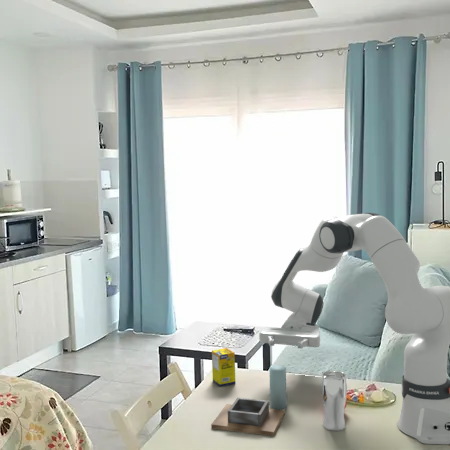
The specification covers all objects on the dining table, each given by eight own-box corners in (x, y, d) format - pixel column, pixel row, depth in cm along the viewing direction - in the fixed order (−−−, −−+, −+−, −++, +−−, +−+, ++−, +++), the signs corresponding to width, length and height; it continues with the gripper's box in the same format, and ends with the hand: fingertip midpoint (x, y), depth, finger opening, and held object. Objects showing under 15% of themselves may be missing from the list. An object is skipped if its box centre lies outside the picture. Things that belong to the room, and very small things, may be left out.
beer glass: (347, 432, 159) (346, 379, 157) (321, 431, 160) (320, 378, 158) (346, 421, 165) (346, 370, 164) (322, 419, 167) (321, 369, 165)
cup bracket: (284, 414, 171) (284, 399, 171) (273, 436, 158) (273, 419, 157) (226, 407, 177) (226, 393, 176) (211, 428, 164) (210, 412, 163)
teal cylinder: (288, 403, 178) (287, 366, 177) (284, 410, 174) (284, 371, 172) (272, 402, 180) (271, 364, 179) (268, 408, 175) (267, 370, 174)
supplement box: (235, 383, 195) (235, 352, 194) (219, 387, 193) (218, 355, 192) (228, 377, 201) (227, 347, 200) (212, 381, 198) (211, 350, 197)
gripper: (264, 320, 203) (253, 332, 190) (323, 325, 196) (316, 337, 183) (264, 338, 203) (254, 351, 190) (323, 343, 197) (316, 357, 184)
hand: (285, 344), depth 187 cm, fingers open, 8 cm apart
